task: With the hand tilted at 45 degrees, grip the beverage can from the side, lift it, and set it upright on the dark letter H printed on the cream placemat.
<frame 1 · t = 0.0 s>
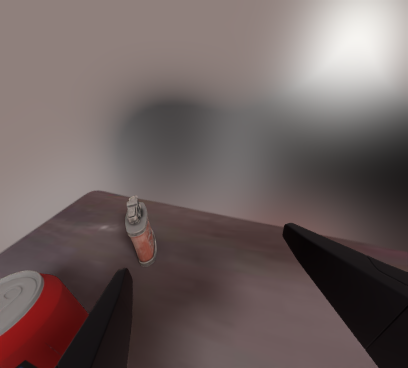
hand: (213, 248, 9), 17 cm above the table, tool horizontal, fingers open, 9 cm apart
beverage can: (71, 364, 18), on the table
lighter: (147, 248, 31), on the table
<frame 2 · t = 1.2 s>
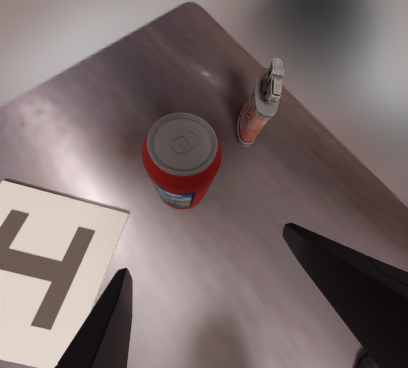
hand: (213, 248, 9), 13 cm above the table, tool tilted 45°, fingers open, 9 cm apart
letter mat: (33, 264, 19), on the table
beverage can: (182, 187, 24), on the table
lighter: (246, 127, 29), on the table
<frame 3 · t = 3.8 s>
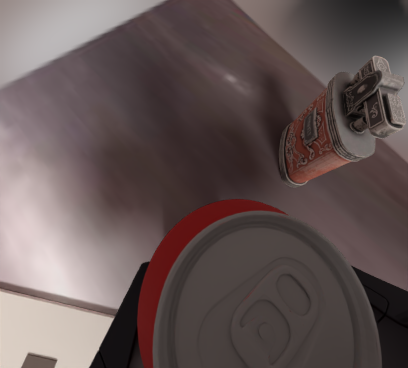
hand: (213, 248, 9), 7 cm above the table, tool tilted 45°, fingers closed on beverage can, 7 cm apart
beverage can: (204, 259, 15), on the table, touching gripper
lighter: (291, 156, 20), on the table
when the fingers open (8 cm above the table, at t = 8.4 s): beverage can drops 1 cm, resting on letter mat.
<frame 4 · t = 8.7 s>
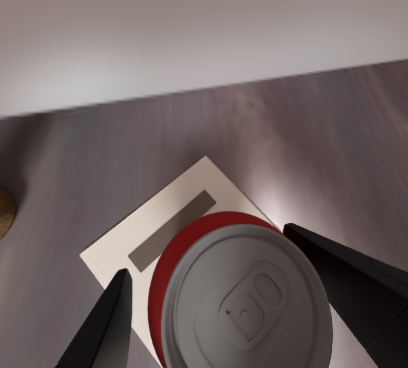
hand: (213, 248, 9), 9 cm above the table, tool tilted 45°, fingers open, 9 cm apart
letter mat: (201, 257, 17), on the table
beverage can: (203, 259, 17), resting on letter mat
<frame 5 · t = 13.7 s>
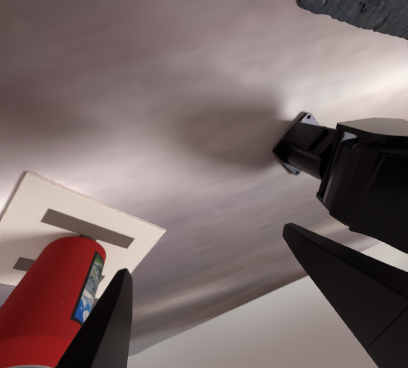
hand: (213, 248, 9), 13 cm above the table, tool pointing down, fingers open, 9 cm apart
letter mat: (78, 249, 22), on the table
beverage can: (79, 250, 22), resting on letter mat
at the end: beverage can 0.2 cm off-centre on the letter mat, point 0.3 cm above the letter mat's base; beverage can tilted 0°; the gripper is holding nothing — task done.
